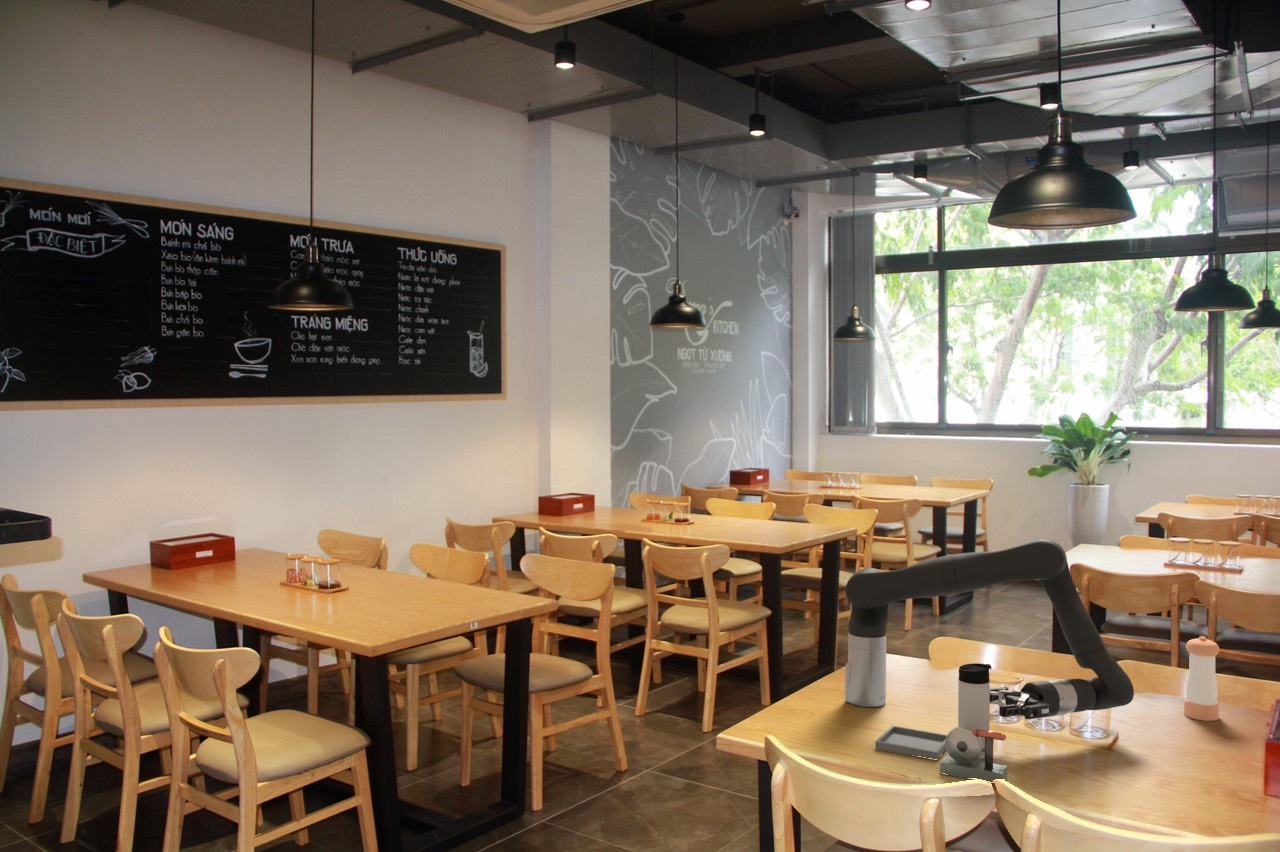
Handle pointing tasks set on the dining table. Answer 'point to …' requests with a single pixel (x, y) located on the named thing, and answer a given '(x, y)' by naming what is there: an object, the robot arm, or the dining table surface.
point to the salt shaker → (1202, 680)
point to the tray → (912, 742)
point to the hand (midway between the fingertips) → (987, 705)
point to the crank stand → (971, 755)
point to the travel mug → (974, 699)
